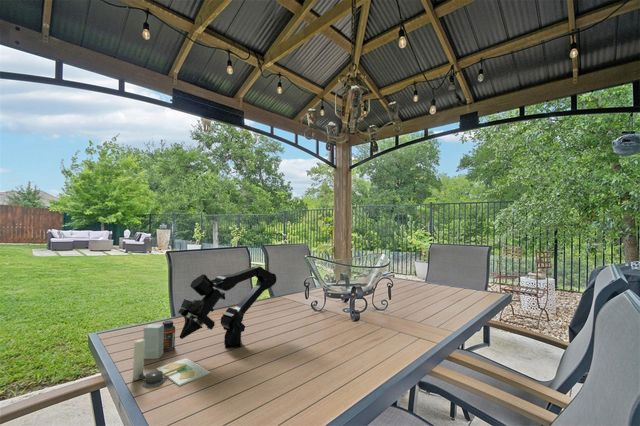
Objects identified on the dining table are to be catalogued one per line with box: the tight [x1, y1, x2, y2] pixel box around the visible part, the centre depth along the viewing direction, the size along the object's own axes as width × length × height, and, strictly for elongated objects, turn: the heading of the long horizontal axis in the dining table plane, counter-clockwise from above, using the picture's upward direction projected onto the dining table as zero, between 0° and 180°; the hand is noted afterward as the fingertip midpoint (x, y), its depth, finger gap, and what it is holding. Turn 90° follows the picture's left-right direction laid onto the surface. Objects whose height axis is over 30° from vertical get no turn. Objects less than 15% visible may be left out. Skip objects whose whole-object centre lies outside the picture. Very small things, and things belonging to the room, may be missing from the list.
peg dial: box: [132, 338, 187, 384], centre depth 102 cm, size 11×15×12 cm
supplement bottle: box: [162, 319, 176, 352], centre depth 125 cm, size 6×6×11 cm
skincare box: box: [143, 323, 164, 360], centre depth 117 cm, size 6×4×12 cm
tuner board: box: [141, 357, 211, 388], centre depth 103 cm, size 18×17×1 cm
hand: (180, 338), depth 112 cm, fingers closed
